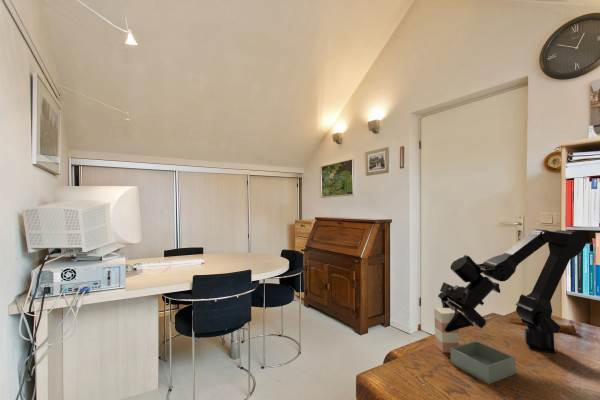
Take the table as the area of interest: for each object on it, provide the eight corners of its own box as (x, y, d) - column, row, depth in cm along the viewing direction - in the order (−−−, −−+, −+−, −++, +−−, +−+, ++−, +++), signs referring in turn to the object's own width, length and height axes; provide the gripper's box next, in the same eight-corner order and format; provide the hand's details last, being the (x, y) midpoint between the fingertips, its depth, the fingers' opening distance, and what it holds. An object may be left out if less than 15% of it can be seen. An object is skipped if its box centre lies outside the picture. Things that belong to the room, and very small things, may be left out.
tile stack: (450, 344, 94) (449, 307, 94) (459, 352, 89) (457, 313, 89) (435, 345, 94) (434, 307, 94) (442, 352, 89) (441, 313, 89)
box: (476, 354, 87) (476, 340, 87) (515, 373, 77) (515, 357, 77) (450, 363, 83) (450, 348, 83) (488, 383, 73) (488, 366, 73)
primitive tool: (507, 323, 111) (507, 314, 111) (509, 319, 115) (509, 310, 115) (576, 337, 98) (576, 327, 98) (575, 332, 102) (575, 322, 102)
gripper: (442, 268, 101) (412, 300, 101) (473, 281, 83) (436, 321, 82) (465, 290, 101) (435, 323, 101) (502, 309, 82) (465, 348, 82)
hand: (441, 327), depth 91 cm, fingers closed on tile stack, 5 cm apart
